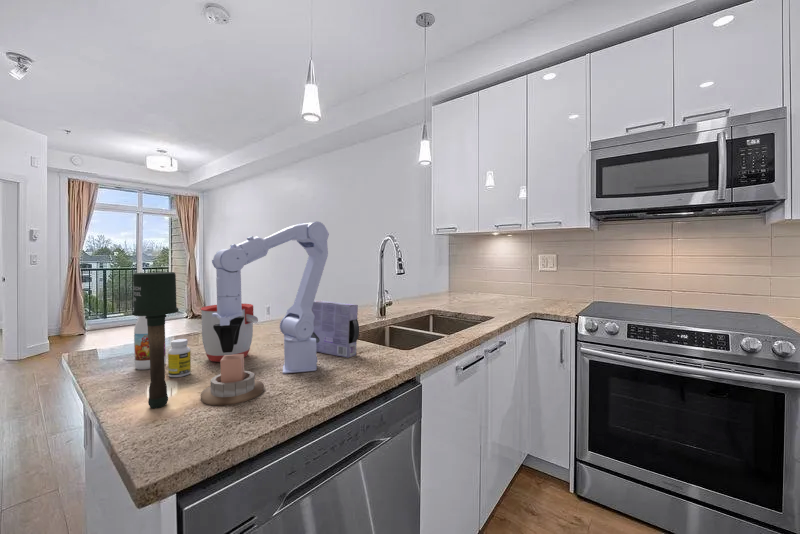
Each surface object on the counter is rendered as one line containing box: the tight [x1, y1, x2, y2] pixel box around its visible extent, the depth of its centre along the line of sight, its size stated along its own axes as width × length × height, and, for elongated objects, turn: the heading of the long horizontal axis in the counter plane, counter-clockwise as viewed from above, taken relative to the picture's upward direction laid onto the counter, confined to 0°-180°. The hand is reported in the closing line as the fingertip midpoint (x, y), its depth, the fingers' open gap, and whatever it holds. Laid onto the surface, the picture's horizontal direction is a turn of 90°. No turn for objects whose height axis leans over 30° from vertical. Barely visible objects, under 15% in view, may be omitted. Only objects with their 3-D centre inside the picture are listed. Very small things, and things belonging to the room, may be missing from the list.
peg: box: [219, 354, 245, 383], centre depth 86 cm, size 4×4×8 cm
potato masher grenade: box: [131, 271, 180, 409], centre depth 79 cm, size 8×9×30 cm
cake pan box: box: [310, 299, 360, 359], centre depth 122 cm, size 19×5×18 cm, turn 60°
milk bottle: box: [133, 316, 167, 371], centre depth 107 cm, size 8×8×20 cm
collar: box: [200, 370, 265, 406], centre depth 87 cm, size 14×14×4 cm
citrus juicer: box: [200, 303, 259, 363], centre depth 116 cm, size 16×17×20 cm
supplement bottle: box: [167, 338, 192, 378], centre depth 100 cm, size 5×5×10 cm
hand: (230, 348), depth 91 cm, fingers open, 7 cm apart
